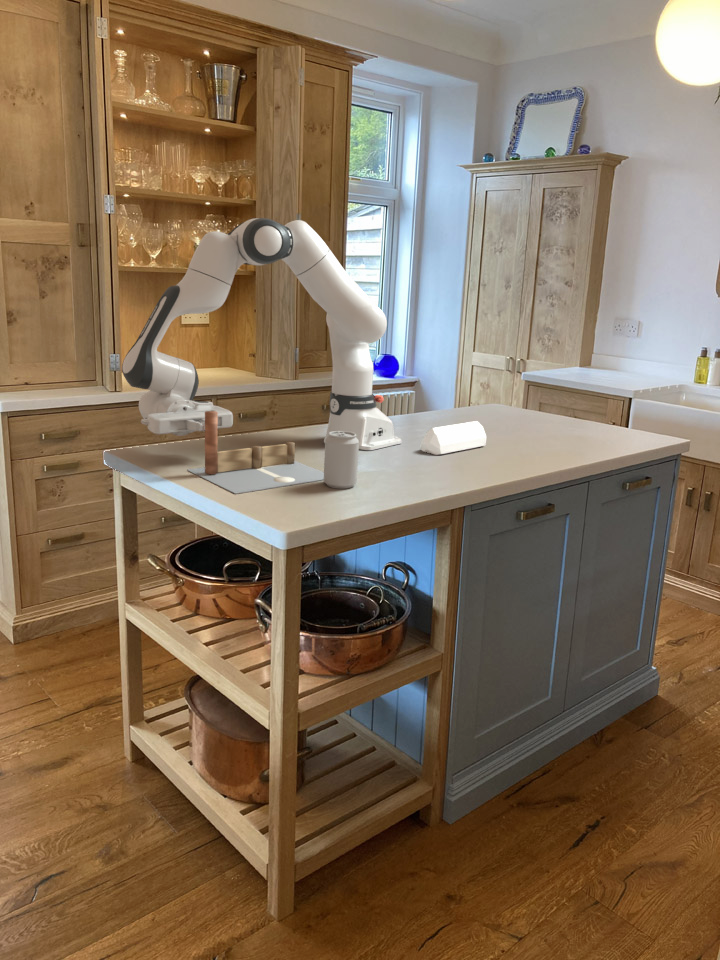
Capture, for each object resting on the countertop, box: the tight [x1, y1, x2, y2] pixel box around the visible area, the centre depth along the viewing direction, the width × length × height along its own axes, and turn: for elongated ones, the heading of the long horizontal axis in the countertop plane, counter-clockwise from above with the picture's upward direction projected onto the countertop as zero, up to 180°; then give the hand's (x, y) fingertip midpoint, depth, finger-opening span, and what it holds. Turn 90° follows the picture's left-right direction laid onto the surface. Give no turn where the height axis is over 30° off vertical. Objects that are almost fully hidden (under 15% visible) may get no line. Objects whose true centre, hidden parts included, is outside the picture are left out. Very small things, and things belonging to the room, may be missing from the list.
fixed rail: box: [251, 441, 296, 469], centre depth 186 cm, size 12×2×5 cm, turn 129°
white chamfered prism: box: [419, 420, 488, 456], centre depth 215 cm, size 7×7×24 cm
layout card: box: [186, 460, 324, 495], centre depth 179 cm, size 27×22×1 cm
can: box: [323, 431, 360, 490], centre depth 172 cm, size 8×8×12 cm
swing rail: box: [204, 411, 252, 474], centre depth 177 cm, size 12×3×14 cm, turn 129°
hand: (206, 427), depth 176 cm, fingers closed
